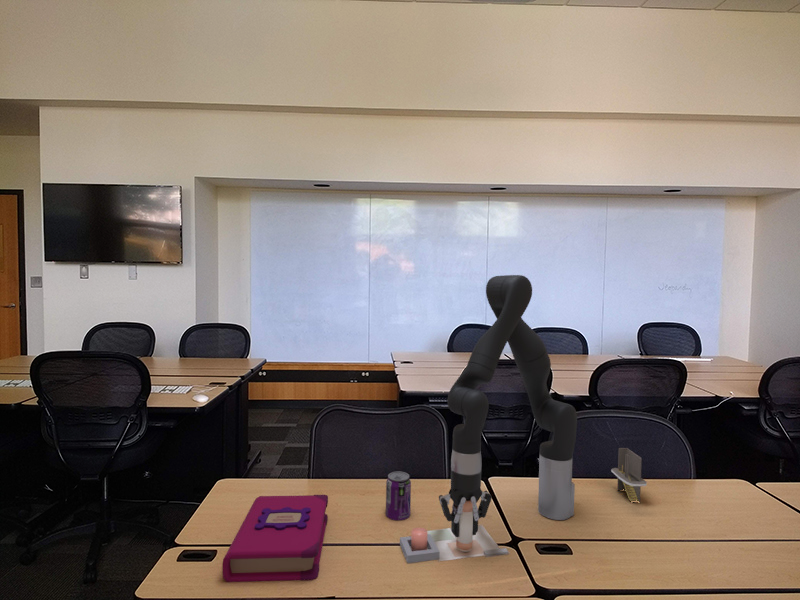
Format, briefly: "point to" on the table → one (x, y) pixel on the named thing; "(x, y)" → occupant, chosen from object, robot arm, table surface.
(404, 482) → the beverage can
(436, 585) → the table surface
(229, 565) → the book
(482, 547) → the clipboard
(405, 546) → the button housing
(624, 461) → the architectural model
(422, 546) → the button
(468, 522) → the marker
